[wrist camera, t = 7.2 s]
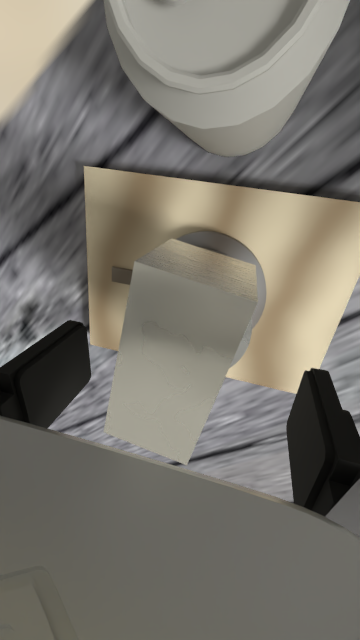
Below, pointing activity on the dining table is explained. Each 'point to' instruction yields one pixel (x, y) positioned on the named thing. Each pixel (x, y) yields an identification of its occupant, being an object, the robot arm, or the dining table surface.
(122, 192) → the base plate
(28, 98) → the dining table surface
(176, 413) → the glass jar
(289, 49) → the can
